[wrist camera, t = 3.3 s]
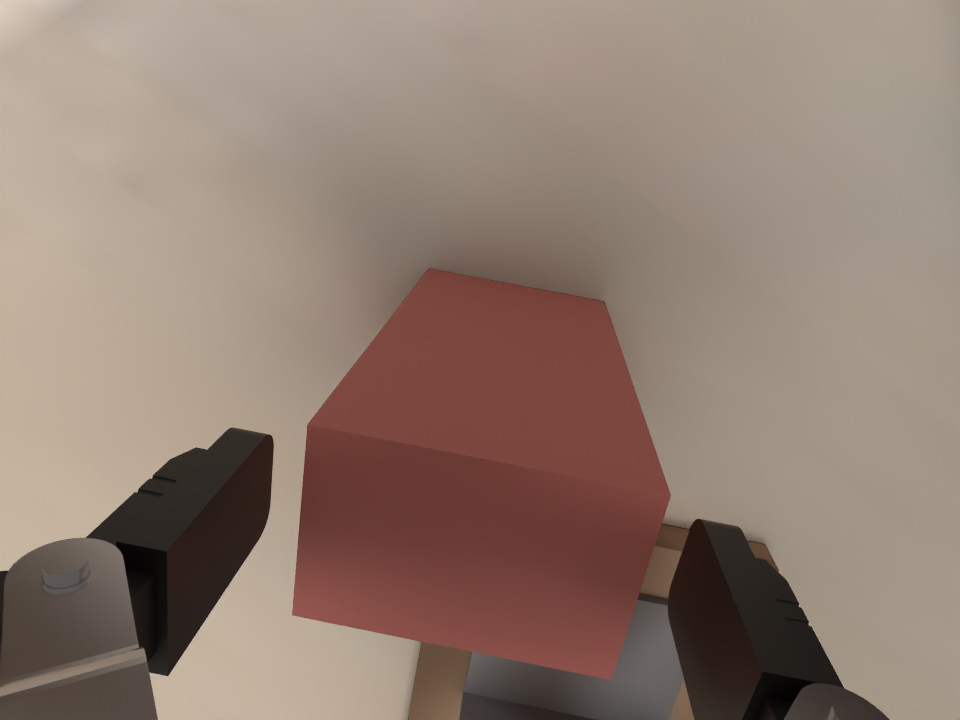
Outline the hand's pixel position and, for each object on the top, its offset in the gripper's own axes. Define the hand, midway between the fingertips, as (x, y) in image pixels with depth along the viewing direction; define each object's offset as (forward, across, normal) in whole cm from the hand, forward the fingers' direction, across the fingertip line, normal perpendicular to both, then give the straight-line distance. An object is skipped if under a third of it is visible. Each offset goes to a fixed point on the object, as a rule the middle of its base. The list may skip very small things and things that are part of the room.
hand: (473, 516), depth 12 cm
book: (+11, 0, 0) cm, 11 cm away
